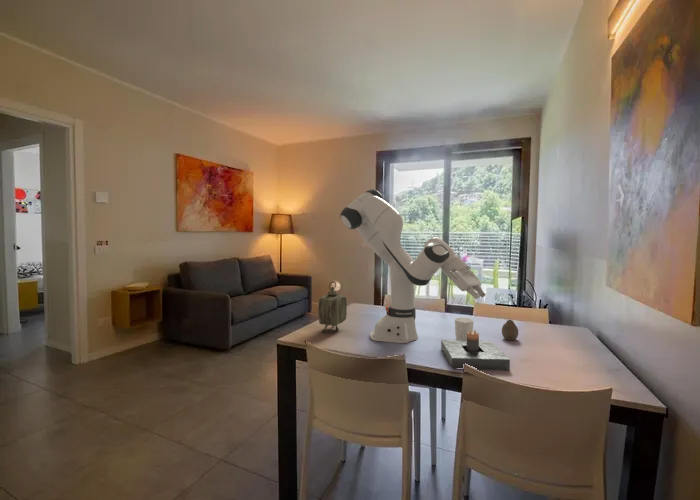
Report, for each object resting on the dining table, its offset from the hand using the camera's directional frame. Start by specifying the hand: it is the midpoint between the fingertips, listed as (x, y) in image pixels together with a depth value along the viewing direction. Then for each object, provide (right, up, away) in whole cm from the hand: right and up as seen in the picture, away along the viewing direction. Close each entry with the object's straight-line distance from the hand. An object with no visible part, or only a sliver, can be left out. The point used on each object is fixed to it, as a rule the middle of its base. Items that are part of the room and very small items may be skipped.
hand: (481, 297), depth 123 cm
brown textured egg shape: (+24, -23, +26) cm, 42 cm away
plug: (-2, -24, +3) cm, 25 cm away
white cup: (+1, -24, +22) cm, 33 cm away
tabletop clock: (-58, -23, +40) cm, 75 cm away
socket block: (-2, -24, +3) cm, 25 cm away
